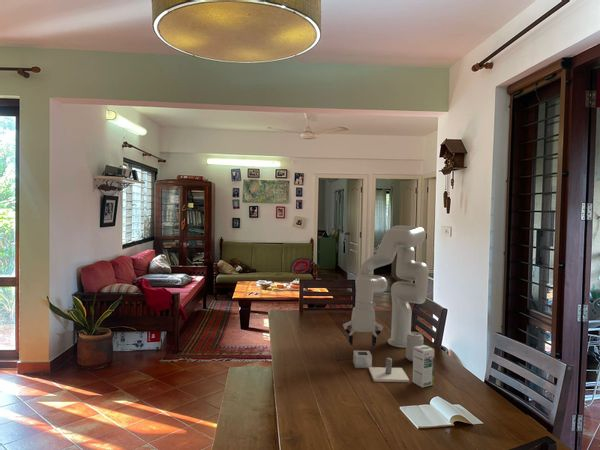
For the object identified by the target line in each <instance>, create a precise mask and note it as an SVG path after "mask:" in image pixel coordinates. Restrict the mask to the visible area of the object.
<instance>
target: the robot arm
mask: <svg viewBox="0 0 600 450" xmlns="http://www.w3.org/2000/svg"><path fill="white" fill-rule="evenodd" d="M425 238H426V231H425V229H424V228H423V227H421V226H415V225H394V226H392V227H391V228H390V229H387V230H386V231H385V233H384V234H383V237H382V239H381V241H380V244H379V247H378V248H377V251H376V253H375V254H373V255H372V256H370V257H369V258H368V259H366V260H365V261H364V262H363V263H362V264H361V265H360V268H359V270H358V272H357V274H356V277H355V286H356V287H355V302H354V303H355V306H354V307H353V308H352V312H351V320H349V321H347V322H346V323H343V324H342V327H343V328H344V331H345V332H346V333H347V334H348V343H349V344H350V345H351V346H353V334H354V333H355V332H357V333H372V335H371V345H372V346H373V347H374V346H375V345H376V344H377V337H378V335H380V334H381V332H382V331H383V329H384V326H383V325H382V324H380V323H378V322H377V321H376V313H375V308H374V307H377V303H376V302H375V301H374V293H375V294H377V293H378V294H381V293H384V292H385V291H386V289H387V288H388V280H387V279H386V278H385V277H384V276H382V275H378V274H377V275H375V274H371V272H372V271H373V270H375V269H377V268H380V267H384V266H386V265H390V264H392V263H393V262H394V260H395V258H396V263H395V264H396V269H395V274H396V277H398V278H399V279H402V280H407V281H396V282H394V283H392V285H391V288H390V293H391V294H390V295H391V305H392V306H391V330H390V331H391V333H390V334H391V335H390V338H389V339H387V343H388V344H389V345H390V346H392V347H396V348H401V349H403V348H405V349H406V340H407V335H408V333H409V332H412V331H411V330H412V307H411V305H410V303H413V304H418V305H420V304H424V303H425V302H426V300H427V294H428V284H429V267H428V265H427V264H426V263H425V262H422V261H415V257H416V256H415V254H416V252H415V247H417V246H420V245H421V244H423V243H424V241H425ZM408 281H414V282H415V283H414V282H408ZM348 326H350V329H348ZM376 327H377V330H376Z"/></svg>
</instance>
